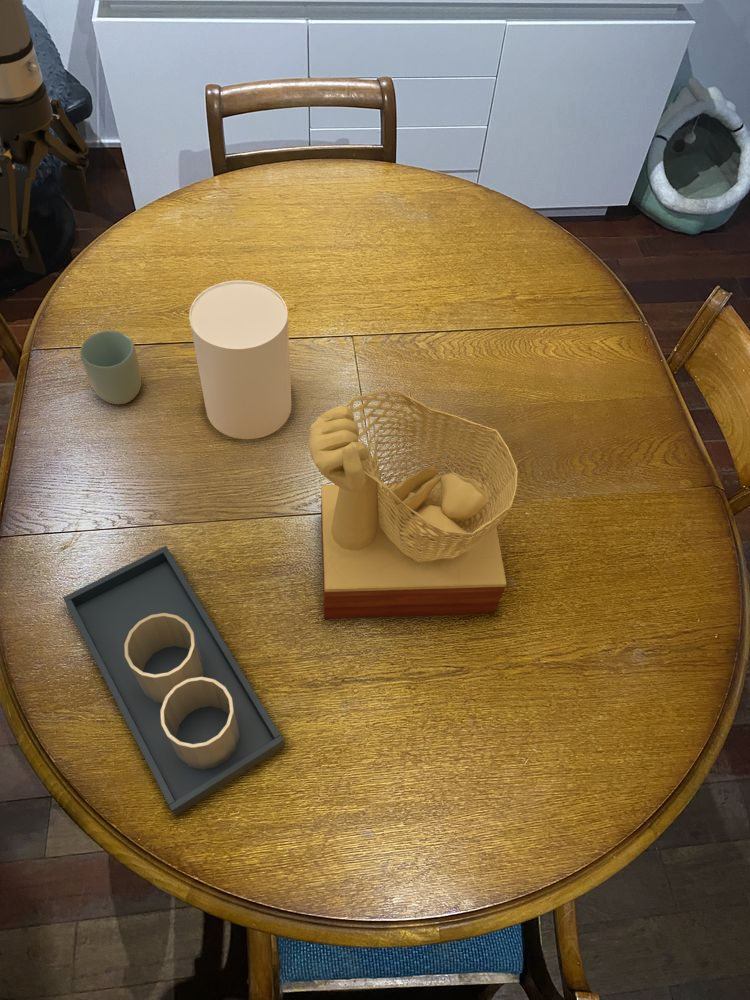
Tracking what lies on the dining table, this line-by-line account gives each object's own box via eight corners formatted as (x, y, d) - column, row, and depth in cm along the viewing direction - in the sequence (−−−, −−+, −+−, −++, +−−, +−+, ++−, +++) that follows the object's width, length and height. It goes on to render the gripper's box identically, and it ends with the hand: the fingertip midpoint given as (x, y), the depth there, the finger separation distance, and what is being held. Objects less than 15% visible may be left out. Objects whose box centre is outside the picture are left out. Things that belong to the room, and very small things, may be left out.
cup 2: (130, 666, 101) (113, 634, 92) (186, 635, 104) (175, 601, 95) (157, 718, 97) (142, 690, 89) (215, 684, 100) (206, 654, 92)
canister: (201, 439, 121) (183, 347, 105) (210, 373, 129) (194, 278, 112) (289, 441, 122) (285, 350, 106) (293, 376, 130) (289, 282, 113)
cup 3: (162, 728, 97) (148, 700, 88) (221, 693, 100) (212, 664, 91) (192, 784, 93) (180, 761, 85) (252, 747, 96) (245, 721, 88)
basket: (311, 623, 106) (310, 474, 76) (309, 511, 115) (307, 340, 86) (493, 617, 108) (559, 470, 79) (475, 507, 118) (528, 340, 88)
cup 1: (85, 401, 124) (69, 357, 116) (113, 368, 128) (99, 323, 120) (128, 418, 123) (114, 374, 114) (155, 384, 127) (143, 340, 118)
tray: (69, 608, 105) (62, 597, 102) (169, 557, 110) (165, 545, 107) (176, 817, 91) (171, 811, 88) (284, 748, 96) (284, 740, 94)
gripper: (-18, 153, 83) (40, 305, 100) (90, 40, 96) (124, 192, 114) (-83, 138, 83) (-14, 292, 101) (34, 28, 97) (76, 181, 115)
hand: (60, 239), depth 108 cm, fingers open, 13 cm apart
